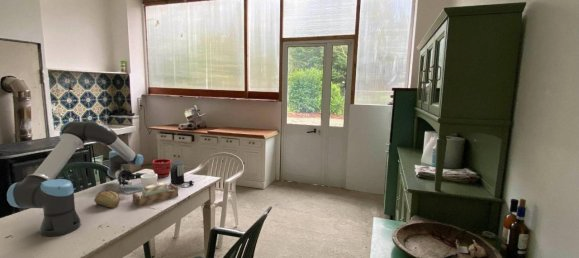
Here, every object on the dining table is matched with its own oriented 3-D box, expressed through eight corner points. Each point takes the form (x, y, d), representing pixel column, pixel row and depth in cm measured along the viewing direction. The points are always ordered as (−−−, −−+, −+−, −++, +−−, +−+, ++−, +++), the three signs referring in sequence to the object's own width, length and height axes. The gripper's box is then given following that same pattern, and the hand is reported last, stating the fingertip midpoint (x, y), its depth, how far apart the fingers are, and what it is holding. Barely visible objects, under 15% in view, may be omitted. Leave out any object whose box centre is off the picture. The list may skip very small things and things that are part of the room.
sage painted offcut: (145, 197, 169) (145, 193, 168) (142, 195, 172) (142, 191, 171) (168, 191, 179) (168, 187, 179) (165, 189, 182) (165, 185, 181)
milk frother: (171, 181, 209) (170, 161, 207) (194, 179, 214) (193, 160, 212) (169, 187, 196) (168, 166, 194) (193, 186, 200) (193, 165, 198)
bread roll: (105, 200, 173) (104, 187, 172) (124, 203, 168) (123, 190, 167) (90, 206, 164) (89, 192, 163) (109, 210, 159) (108, 196, 158)
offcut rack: (137, 206, 164) (137, 196, 163) (132, 203, 169) (132, 193, 168) (178, 196, 182) (177, 186, 181) (172, 192, 187) (172, 184, 186)
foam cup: (157, 197, 179) (156, 177, 177) (141, 199, 176) (140, 178, 174) (158, 192, 188) (157, 172, 186) (142, 193, 184) (141, 174, 183)
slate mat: (127, 194, 182) (127, 193, 182) (118, 188, 192) (118, 187, 192) (151, 188, 193) (151, 188, 193) (142, 183, 203) (142, 182, 203)
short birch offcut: (147, 192, 169) (146, 188, 169) (144, 190, 172) (143, 186, 172) (167, 187, 178) (166, 183, 177) (163, 185, 181) (163, 182, 180)
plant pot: (156, 179, 212) (155, 163, 210) (150, 175, 222) (150, 160, 220) (174, 176, 221) (173, 161, 219) (168, 172, 230) (167, 157, 229)
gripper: (141, 176, 208) (159, 181, 196) (104, 185, 187) (122, 192, 175) (141, 166, 206) (159, 171, 195) (103, 174, 186) (121, 180, 174)
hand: (141, 181), depth 185 cm, fingers open, 13 cm apart
